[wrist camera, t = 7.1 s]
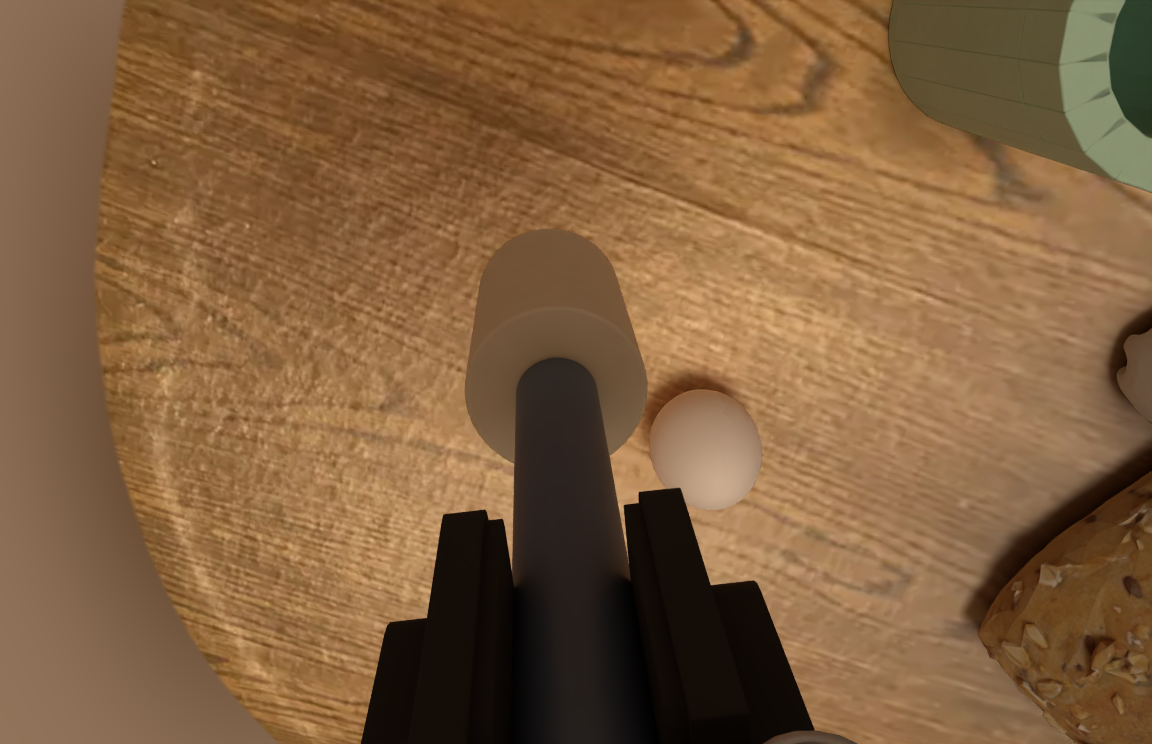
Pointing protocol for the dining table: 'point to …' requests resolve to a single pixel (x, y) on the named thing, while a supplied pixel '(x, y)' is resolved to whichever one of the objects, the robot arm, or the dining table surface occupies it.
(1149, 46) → the cup
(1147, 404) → the bottle
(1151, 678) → the bread
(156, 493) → the dining table surface
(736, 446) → the egg
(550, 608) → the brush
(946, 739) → the dining table surface
